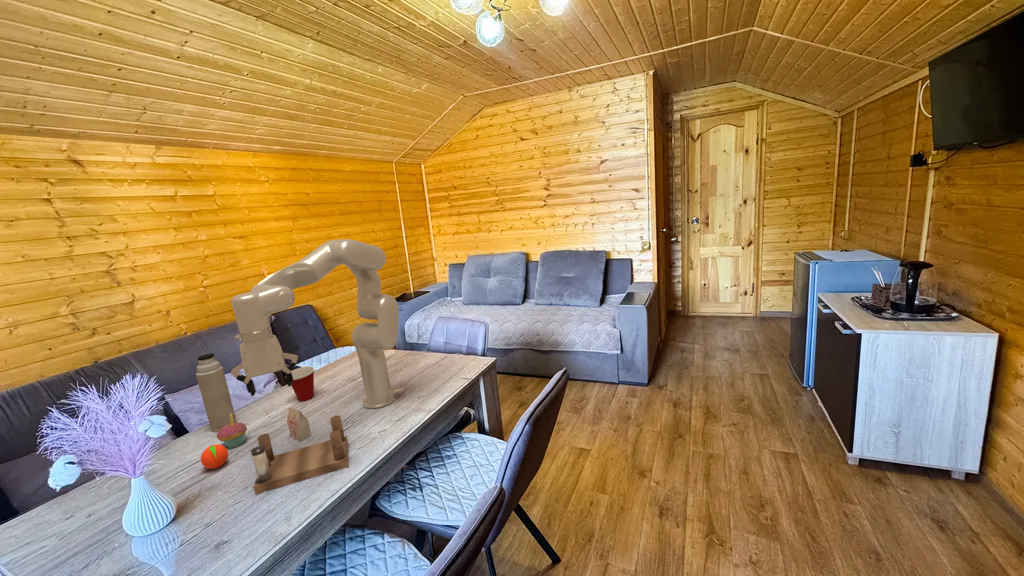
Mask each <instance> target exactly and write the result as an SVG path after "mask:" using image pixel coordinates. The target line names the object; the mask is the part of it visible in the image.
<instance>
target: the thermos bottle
mask: <svg viewBox="0 0 1024 576" xmlns="http://www.w3.org/2000/svg"><path fill="white" fill-rule="evenodd" d="M196 360H197V361H198V365H197V366H196V373H195V376H196V379H197V380H196V381H197V383H198V387H199V390H200V394H201V398H202V401H203V405H204V410H205V412H206V416H207V420H208V424H209V427H210V431H211V432H213V433H218V432H219V430H220V429H221V428H223V427H224V426H225V425H228V424H230V423H231V419H230V414H232V416H233V423H237V422H238V421H237V418H236V413H235V409H234V406H233V403H232V399H231V394H230V391H229V386H228V383H227V379H226V376H225V371H224V368H223V366H221V365H220V362H219V361H218V360H216V358H215V353H211V352H210V353H205V354H202V355H199V356H198V357H197V359H196Z"/></svg>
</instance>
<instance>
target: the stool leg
mask: <svg viewBox="0 0 1024 576" xmlns="http://www.w3.org/2000/svg"><path fill="white" fill-rule="evenodd" d="M250 453H251V457H252V461H253V465H254V470H255V473H256V477H258V481H259V482H263V481H266V480H268V479H269V478H270V477H271V472H270V468H269V466H270V465H271V464H270V460H269V458H267V456H266V452H265V448H264V446H259V445H258V446H255V447H253V448H252V449H251V450H250Z"/></svg>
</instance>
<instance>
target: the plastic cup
mask: <svg viewBox="0 0 1024 576" xmlns="http://www.w3.org/2000/svg"><path fill="white" fill-rule="evenodd" d="M291 373H292V376H293V382H292V384H291V386H290V387H291V388H292V389H293V391H294V394H295V396H296V398H297V400H298V402H300V403H303V401H304V402H308V401H311V400H312V399H313V398H315V397H314V395H315V390H314V389H315V382H314V378H315V377H314V376H315V375H314V373H315V367H314V366H303V367H298V368H296V369H295V368H294V369H293V370H292V371H291ZM284 376H285V375H284ZM285 378H286V376H285ZM307 400H308V401H307Z"/></svg>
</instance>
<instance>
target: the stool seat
mask: <svg viewBox="0 0 1024 576" xmlns="http://www.w3.org/2000/svg"><path fill="white" fill-rule="evenodd" d="M330 425H331V430H332V431H331V432H330V433H329V434H328V436H329V440H326V441H324V442H323V441H322V442H319V443H315V444H312V445H308V446H304V447H300V448H298V449H294V450H290V451H287V452H281V453H279V454H275V453H274V451H273V447H272V446H273V445H272V442H271V438H270V435H269V434H270V433H263V434H260V435H259V436H257V438H256V439H257V442H258V446H264V448H265V452H266V456H267V458H269V460H270V464H271V465H270V466H269V468H270V472H271V477H270V478H269V479H268V480H266V481H263V482H259V481H258V477H257V476H256V478H255V481H254V484H253V490H254V492H255V493H254V494H255V495H259V494H262V493H265V492H269V491H272V490H275V489H279V488H282V487H285V485H286V486H288V485H291V484H296V483H298V482H302V481H305V480H309V479H311V478H312V479H313V478H315V477H318V476H322V475H326V474H329V473H333V472H335V471H339V470H342V469H346V468H348V467H349V441H348V436H347V435H345V431H344V428H343V422H342V417H341V415H334V416H331V417H330ZM271 489H272V490H271ZM268 490H269V491H268ZM264 491H265V492H264Z"/></svg>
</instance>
